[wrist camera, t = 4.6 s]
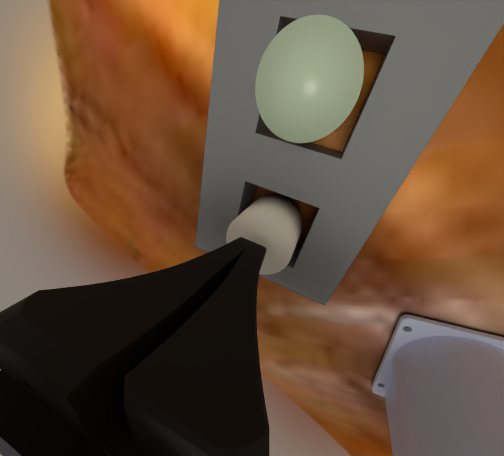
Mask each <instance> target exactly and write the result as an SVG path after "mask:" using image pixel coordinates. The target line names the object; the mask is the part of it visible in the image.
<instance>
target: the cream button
mask: <svg viewBox="0 0 504 456" xmlns="http://www.w3.org/2000/svg"><path fill="white" fill-rule="evenodd" d="M302 226H303V222H302V217H301V214H300V212H299V210H298V209H297V207H296V206H295V205H294V204H293V203H292V202H291V201H289V200H288V199H286V198H284V197H281V196H278V195H266V196H262V197H260V198H258V199H257V200H255V201H254V202H253V203H252V204H251V205H250V206H249V207H248V208H247V209H245V210H244V211H243V212H242V213H241V214H240V215H239V216H238V217H237V218H235V219H234V220H233V221H232V222H231V224H230V225H229V227H228V230H227V234H226V242H227V243H229V242H231V241H233V240H235V239H237V238H239V237H243V238H245V239H248V240H250V241H252V242H255V243H257V244H259V245H262V246H264V247H266V249H267V251H266V254H265V257H264V260H263V263H262V266H261V269H260V272H259V274H263V275H270V274H275V273H278V272H280V271H281V270H283V269H284V268H285V267H286V266H287V265H288V263H289V261H290V259H291V257H292V254H293V252H294V249H295V247H296V244H297V242H298V239H299V236H300V234H301V231H302Z"/></svg>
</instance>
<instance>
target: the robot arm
mask: <svg viewBox="0 0 504 456" xmlns="http://www.w3.org/2000/svg"><path fill="white" fill-rule="evenodd" d="M266 251H267V249H266V247H264V246H262V245H259V244H257V243H255V242H252V241H250V240H248V239H245V238H243V237H239V238H237V239H235V240H233V241H231V242H229V243H227V244H225V245H223V246H221V247H219V248H217V249H215V250H213V251H211V252H209V253H207V254H204V255H202V256H199V257H197V258H194V259H192V260H190V261H187V262H184V263H182V264H179V265H176V266H173V267H170V268H166V269H163V270H160V271H156V272H152V273H148V274H144V275H139V276H135V277H131V278H126V279H121V280H116V281H110V282H104V283H98V284H92V285H84V286H76V287H67V288H58V289H50V290H39V291H37V292H35V293H33V294H32V295H30V296H28V297H26V298H25V299H23V300H21V301H19V302H18V303H16V304H14V305H12V306H10V307H9V308H7V309H5V310H3V311H1V312H0V369H1V371H0V453H1V454H2V455H3V456H269V424H268V418H267V412H266V406H265V399H264V393H263V387H262V380H261V371H260V363H259V351H258V340H257V321H256V303H257V286H258V278H259V272H260V269H261V266H262V263H263V260H264V257H265V254H266ZM405 326H409V327H405ZM371 387H372V391H373V393H375V394H377V395H379V396H382V397H385V403H386V410H387V417H388V425H389V432H390V439H391V446H392V453H393V456H504V337H500V336H496V335H491V334H487V333H483V332H479V331H475V330H471V329H467V328H462V327H458V326H454V325H450V324H446V323H442V322H438V321H434V320H429V319H425V318H421V317H417V316H413V315H403V316H401V317H400V319H399V321H398V323H397V326H396V328H395V331H394V333H393V335H392V338H391V340H390V342H389V345H388V347H387V350H386V352H385V354H384V357H383V359H382V362H381V364H380V366H379V369H378V371H377V373H376V376H375V378H374V381H373V383H372V385H371Z"/></svg>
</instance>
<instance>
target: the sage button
mask: <svg viewBox="0 0 504 456" xmlns="http://www.w3.org/2000/svg"><path fill="white" fill-rule="evenodd" d="M363 77H364V60H363V54H362V50H361V46H360V44H359V42H358V40H357V38H356V36H355V35H354V33H353V31H352V30H351V29H350V28H349V27H348V26H347V25H346V24H344V23H343V22H342V21H340V20H338V19H336V18H334V17H331V16H327V15H309V16H306V17H302V18H300V19H297V20H295V21H293V22H292V23H290V24H288V25H287V26H286V27H284V28H283V29H282V30H281V31H280V32H279V33H278V34H277V35H276V36H275V37H274V38H273V40H272V41H271V42H270V44H269V45H268V47H267V49H266V50H265V52H264V54H263V56H262V58H261V61H260V64H259V67H258V71H257V75H256V82H255V96H256V103H257V107H258V110H259V113H260V115H261V118H262V120H263V121H264V123H265V124H266V126H267V127H268V128H269V129H270V130H271V131H272V132H273V133H274V134H275V135H277V136H278V137H280V138H282V139H284V140H286V141H289V142H294V143H308V142H313V141H316V140H319V139H321V138H323V137H325V136H327V135H329V134H330V133H332V132H333V131H334V130H336V129H337V128H338V127H339V126H340V125H341V124H342V123H343V122H344V121H345V120H346V118H347V117H348V116H349V114H350V113H351V111H352V110H353V108H354V106H355V104H356V102H357V100H358V97H359V94H360V92H361V88H362V84H363Z"/></svg>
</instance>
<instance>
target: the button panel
mask: <svg viewBox="0 0 504 456" xmlns="http://www.w3.org/2000/svg"><path fill="white" fill-rule="evenodd" d="M309 15H327V16H331V17H334V18H336V19H338V20H340V21H342V22H343V23H344V24H346V25H347V26H348V27H349V28H350V29H351V30H352V31H353V33H354V35H355V36H356V38H357V40H358V42H359V44H360V46H361V49H364V50H369V51H374V52H379V53H384V54H385V55H384V58H383V60H382V62H381V64H380V67H379V69H378V71H377V74H376V76H375V78H374V80H373V83H372V85H371V87H370V90H369V92H368V94H367V96H366V99H365V101H364V103H363V106H362V108H361V110H360V113H359V115H358V117H357V119H356V122H355V124H354V126H353V129H352V131H351V133H350V135H349V138H348V140H347V142H346V145H345V147H344V149H343V151H342V152H340V151H337V150H333V149H330V148H327V147H323V146H320V145H317V144H313V143H310V142H308V143H294V142H289V141H286V140H284V139H282V138H280V137H278V136H277V135H275V134H274V133H273V132H272V131H270V129H269V128H268V127H267V126H266V124H265V123H264V121H263V120H262V118H261V115H260V113H259V110H258V107H257V103H256V96H255V82H256V75H257V71H258V67H259V64H260V61H261V58H262V56H263V54H264V52H265V50H266V49H267V47H268V45H269V44H270V42H271V41H272V40H273V38H274V37H275V36H276V35H277V34H278V33H279V32H280V31H281V30H282V29H283V28H284V27H286V26H287V25H288V24H290V23H292V22H293V21H295V20H297V19H300V18H302V17H306V16H309ZM503 23H504V0H219V10H218V20H217V30H216V40H215V51H214V61H213V71H212V81H211V92H210V102H209V112H208V122H207V133H206V143H205V153H204V163H203V174H202V184H201V194H200V204H199V215H198V225H197V235H196V245H195V246H196V247H198V248H200V249H203V250H205V251H207V252H211V251H213V250H215V249H217V248H219V247H221V246H223V245H225V244H227V242H226V234H227V230H228V227H229V225H230V224H231V222H232V221H233V220H234V219H235V218H237V217H238V216H239V215H240V214H241V213H242V212H243V211H244V210H245V209H247V208H248V207H249V206H250V205H251V204H252V202H253V198H254V194H255V190H256V185H257V186H260V187H263V188H266V189H268V190H271V191H274V192H277V193H279V194H282V195H285V196H288V197H290V198H293V199H296V200H299V201H301V202H304V203H307V204H310V205H312V206H315V207H318V209H317V211H316V213H315V216H314V218H313V220H312V222H311V225H310V227H309V229H308V232H307V234H306V236H305V239H304V241H303V243H302V245H301V248H298V247H295V249H294V252H293V254H292V257H291V259H290V261H289V263H288V265H287V266H286V267H285V268H284V269H283V270H281V271H280V272H278V273H275V274H270V275H263V274H259V276H261V277H263V278H266V279H268V280H270V281H272V282H274V283H277V284H279V285H281V286H283V287H285V288H287V289H290V290H292V291H294V292H296V293H298V294H300V295H303V296H305V297H307V298H309V299H311V300H313V301H316V302H318V303H320V304H322V305H324V306H325V305H326V303H327V301H328V300H329V298H330V297H331V295H332V294H333V292H334V290H335V289H336V287H337V286H338V284H339V282H340V281H341V279H342V278H343V276H344V275H345V273H346V271H347V270H348V268H349V267H350V265H351V264H352V262H353V260H354V259H355V257H356V256H357V254H358V252H359V251H360V249H361V248H362V246H363V245H364V243H365V241H366V240H367V238H368V237H369V235H370V234H371V232H372V230H373V229H374V227H375V226H376V224H377V222H378V221H379V219H380V218H381V216H382V215H383V213H384V211H385V210H386V208H387V207H388V205H389V204H390V202H391V200H392V199H393V197H394V196H395V194H396V192H397V191H398V189H399V188H400V186H401V185H402V183H403V181H404V180H405V178H406V177H407V175H408V173H409V172H410V170H411V169H412V167H413V166H414V164H415V162H416V161H417V159H418V158H419V156H420V155H421V153H422V151H423V150H424V148H425V147H426V145H427V143H428V142H429V140H430V139H431V137H432V136H433V134H434V132H435V131H436V129H437V128H438V126H439V125H440V123H441V121H442V120H443V118H444V117H445V115H446V113H447V112H448V110H449V109H450V107H451V106H452V104H453V102H454V101H455V99H456V98H457V96H458V95H459V93H460V91H461V90H462V88H463V87H464V85H465V83H466V82H467V80H468V79H469V77H470V76H471V74H472V72H473V71H474V69H475V68H476V66H477V65H478V63H479V61H480V60H481V58H482V57H483V55H484V53H485V52H486V50H487V49H488V47H489V46H490V44H491V42H492V41H493V39H494V38H495V36H496V35H497V33H498V31H499V30H500V28H501V27H502V25H503Z"/></svg>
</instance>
